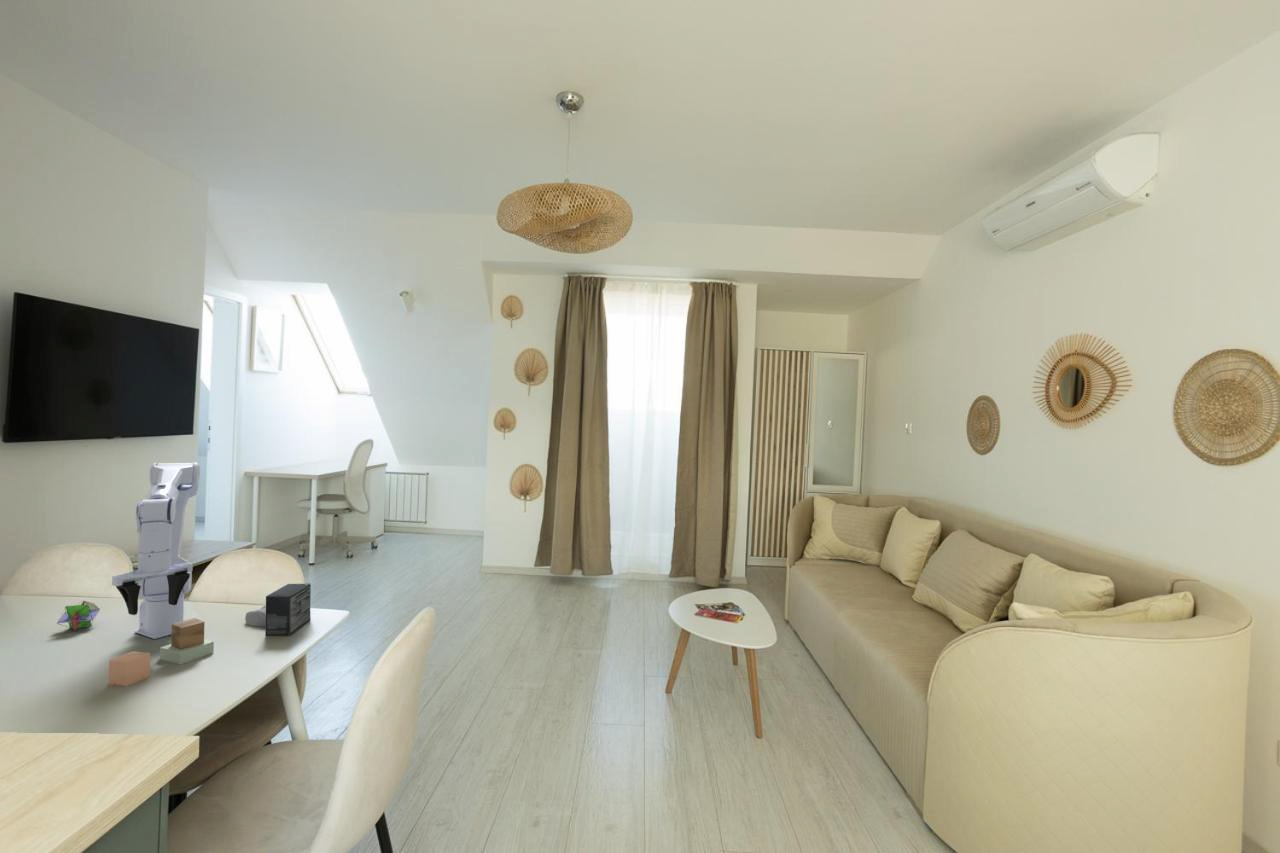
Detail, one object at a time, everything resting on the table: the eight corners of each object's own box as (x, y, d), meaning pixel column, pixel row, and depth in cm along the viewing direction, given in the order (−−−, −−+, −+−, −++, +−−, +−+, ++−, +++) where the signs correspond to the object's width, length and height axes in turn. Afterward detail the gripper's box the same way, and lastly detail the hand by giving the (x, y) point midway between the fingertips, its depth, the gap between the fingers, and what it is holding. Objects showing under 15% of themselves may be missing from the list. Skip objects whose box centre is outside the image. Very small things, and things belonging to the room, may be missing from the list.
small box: (286, 620, 150) (287, 582, 150) (311, 621, 151) (312, 583, 150) (263, 636, 140) (264, 595, 139) (290, 636, 140) (291, 595, 140)
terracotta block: (108, 684, 113) (109, 660, 113) (131, 674, 118) (132, 651, 118) (126, 686, 113) (127, 662, 113) (149, 676, 117) (150, 653, 117)
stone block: (240, 631, 147) (272, 627, 145) (238, 613, 147) (270, 609, 145) (277, 617, 158) (307, 613, 157) (275, 600, 159) (305, 597, 157)
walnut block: (171, 645, 126) (171, 623, 126) (194, 638, 130) (194, 617, 130) (180, 649, 124) (181, 628, 124) (204, 643, 128) (204, 621, 128)
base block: (159, 660, 125) (160, 647, 125) (193, 648, 132) (193, 636, 132) (180, 666, 123) (180, 652, 123) (213, 653, 130) (213, 641, 129)
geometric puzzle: (86, 625, 137) (96, 594, 141) (49, 629, 134) (60, 597, 138) (97, 634, 142) (106, 604, 146) (61, 638, 139) (71, 606, 143)
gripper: (124, 559, 119) (123, 621, 119) (200, 546, 132) (199, 602, 132) (107, 555, 122) (106, 616, 122) (183, 543, 135) (182, 598, 135)
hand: (153, 609), depth 127 cm, fingers open, 7 cm apart
